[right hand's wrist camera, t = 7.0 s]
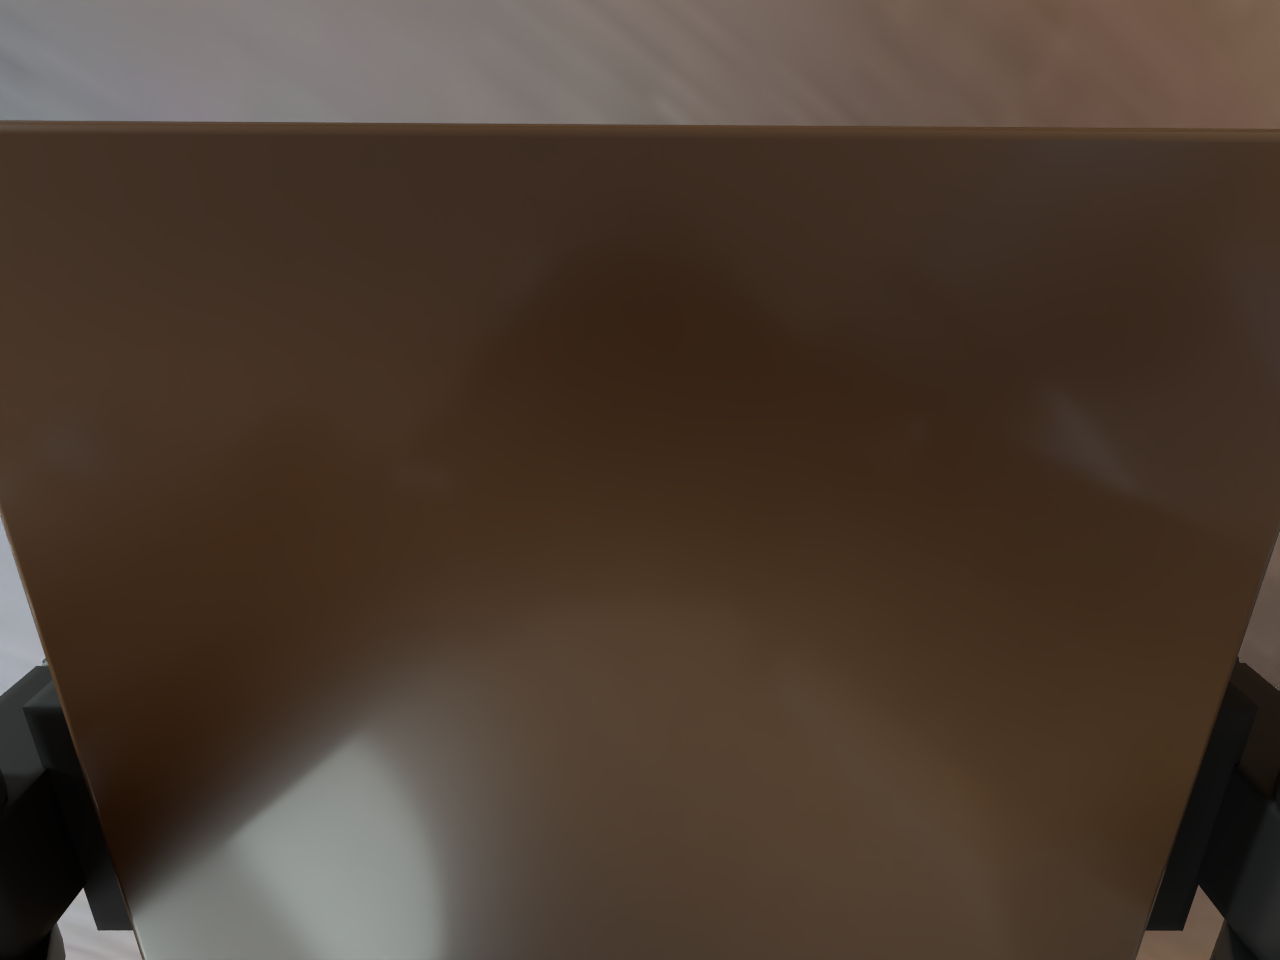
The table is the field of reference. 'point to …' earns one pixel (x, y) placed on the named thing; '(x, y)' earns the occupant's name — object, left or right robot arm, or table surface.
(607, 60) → the table surface
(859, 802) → the brown wooden beam
